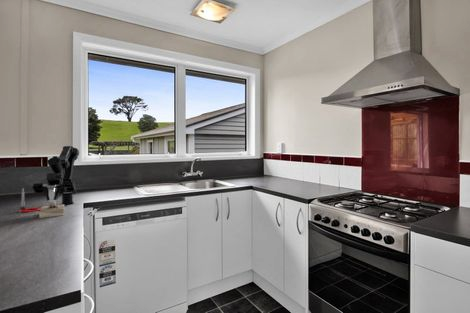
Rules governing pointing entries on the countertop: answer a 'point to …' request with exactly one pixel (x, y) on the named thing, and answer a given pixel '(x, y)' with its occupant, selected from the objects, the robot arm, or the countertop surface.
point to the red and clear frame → (22, 208)
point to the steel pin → (51, 196)
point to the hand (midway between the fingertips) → (51, 199)
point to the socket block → (51, 211)
